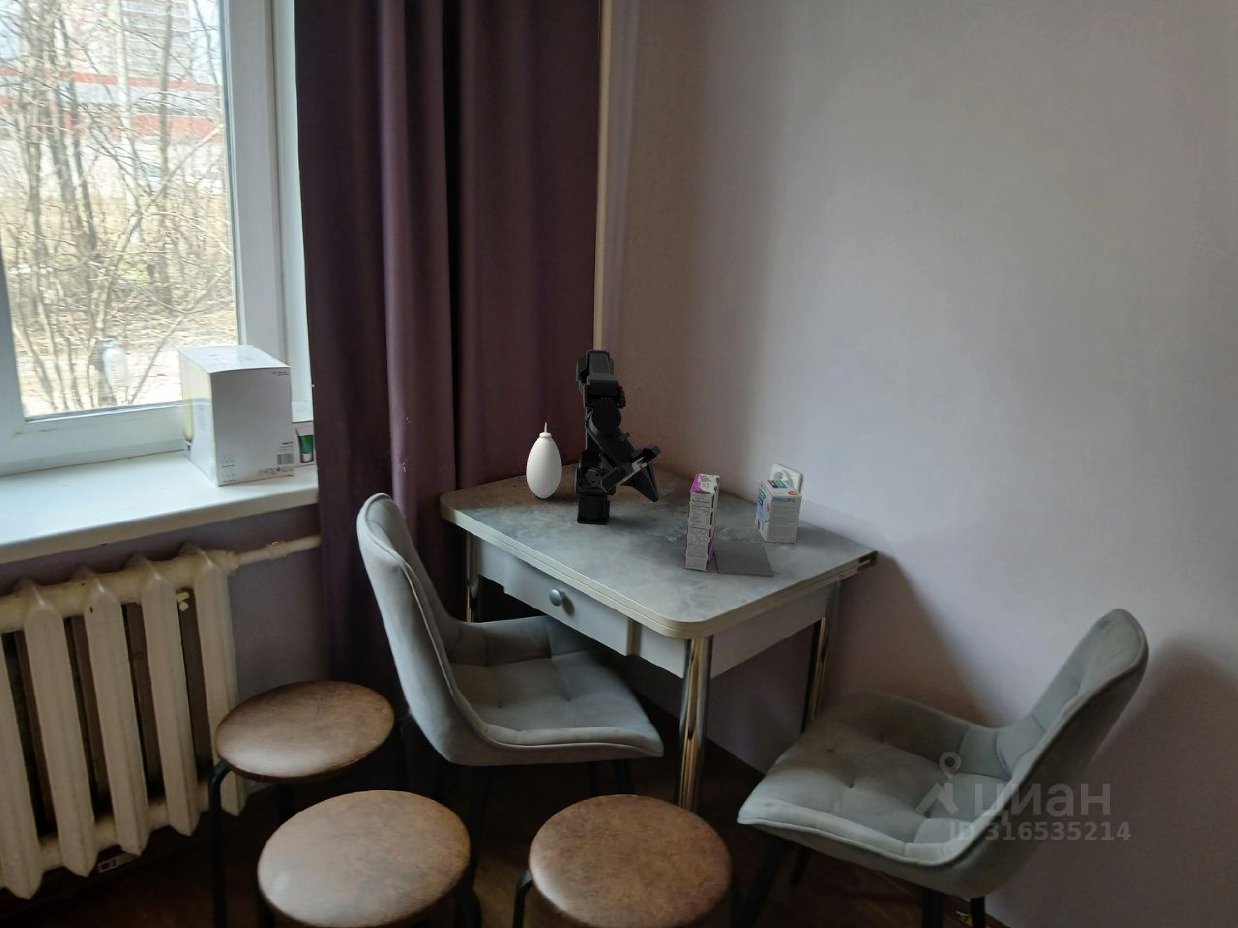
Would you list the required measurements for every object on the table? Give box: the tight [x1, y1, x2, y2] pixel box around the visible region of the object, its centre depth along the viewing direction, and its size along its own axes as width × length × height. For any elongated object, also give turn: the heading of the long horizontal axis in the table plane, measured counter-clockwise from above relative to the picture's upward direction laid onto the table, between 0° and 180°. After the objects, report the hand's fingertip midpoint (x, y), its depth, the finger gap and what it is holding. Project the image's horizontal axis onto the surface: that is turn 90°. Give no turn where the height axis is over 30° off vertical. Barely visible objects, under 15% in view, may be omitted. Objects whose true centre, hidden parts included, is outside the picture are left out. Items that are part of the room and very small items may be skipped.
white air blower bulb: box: [526, 422, 562, 499], centre depth 200 cm, size 8×8×18 cm
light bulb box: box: [754, 479, 803, 544], centre depth 188 cm, size 11×7×11 cm, turn 5°
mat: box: [713, 539, 774, 578], centre depth 175 cm, size 10×16×1 cm, turn 179°
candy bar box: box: [683, 472, 720, 572], centre depth 170 cm, size 11×5×16 cm, turn 168°
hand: (656, 501), depth 173 cm, fingers closed
